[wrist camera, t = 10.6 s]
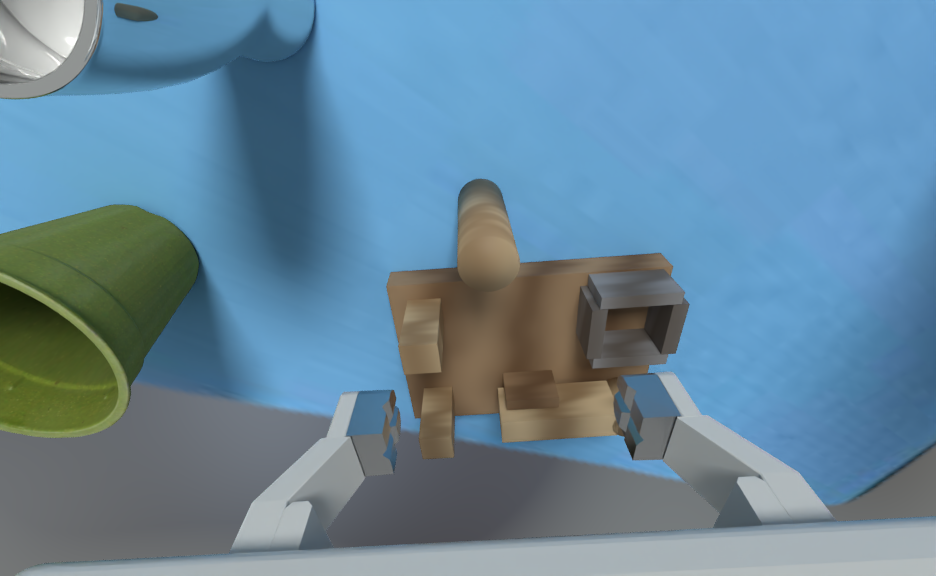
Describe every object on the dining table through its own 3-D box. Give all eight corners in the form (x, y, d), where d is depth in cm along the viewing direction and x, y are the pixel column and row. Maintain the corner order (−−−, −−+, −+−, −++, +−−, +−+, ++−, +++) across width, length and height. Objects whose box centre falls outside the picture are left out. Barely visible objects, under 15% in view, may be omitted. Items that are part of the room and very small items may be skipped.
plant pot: (23, 243, 27) (-210, 351, 18) (101, 129, 23) (-143, 189, 14) (182, 342, 32) (66, 467, 23) (268, 261, 28) (172, 371, 19)
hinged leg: (637, 375, 32) (658, 416, 28) (632, 400, 34) (651, 442, 30) (497, 385, 32) (501, 426, 29) (498, 409, 34) (503, 451, 30)
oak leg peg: (501, 177, 25) (519, 234, 18) (503, 220, 27) (519, 289, 19) (456, 180, 26) (454, 239, 18) (460, 223, 27) (460, 293, 19)
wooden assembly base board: (660, 253, 29) (712, 308, 23) (631, 387, 36) (665, 455, 30) (390, 272, 29) (372, 331, 23) (417, 400, 37) (408, 470, 31)
